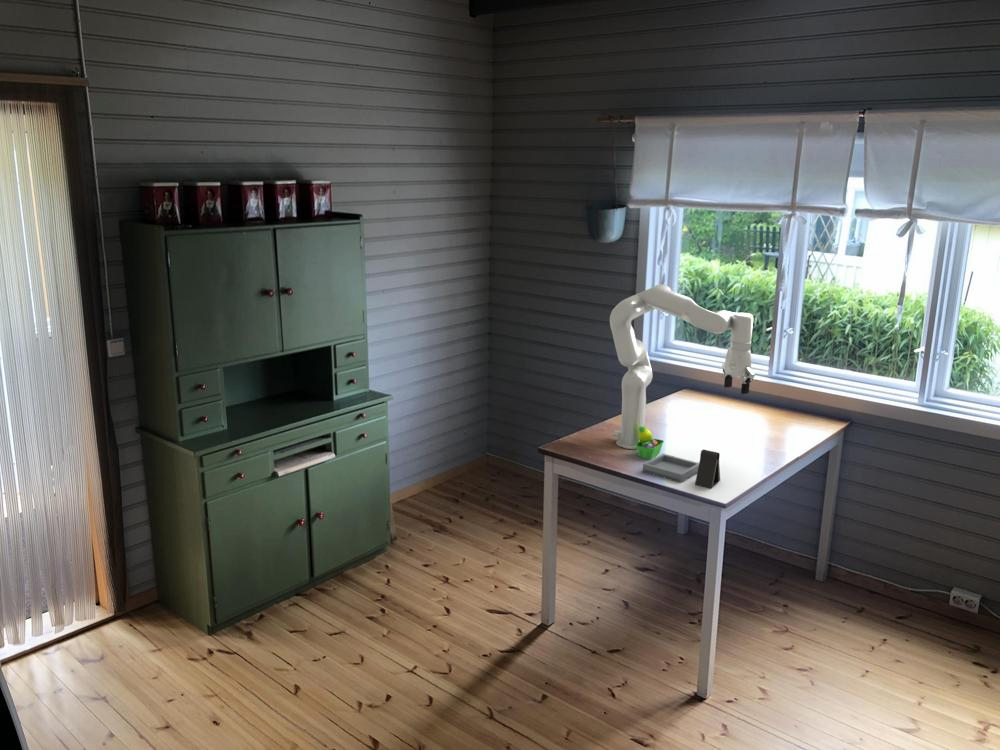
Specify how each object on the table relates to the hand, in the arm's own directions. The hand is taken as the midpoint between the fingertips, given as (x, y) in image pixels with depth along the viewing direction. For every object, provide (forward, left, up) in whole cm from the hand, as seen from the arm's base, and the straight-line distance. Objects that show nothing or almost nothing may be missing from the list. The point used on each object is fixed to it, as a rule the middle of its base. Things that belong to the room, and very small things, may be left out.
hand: (736, 390), depth 304 cm
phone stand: (+4, -28, -28) cm, 40 cm away
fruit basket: (-27, -17, -28) cm, 42 cm away
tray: (-11, -27, -28) cm, 40 cm away
